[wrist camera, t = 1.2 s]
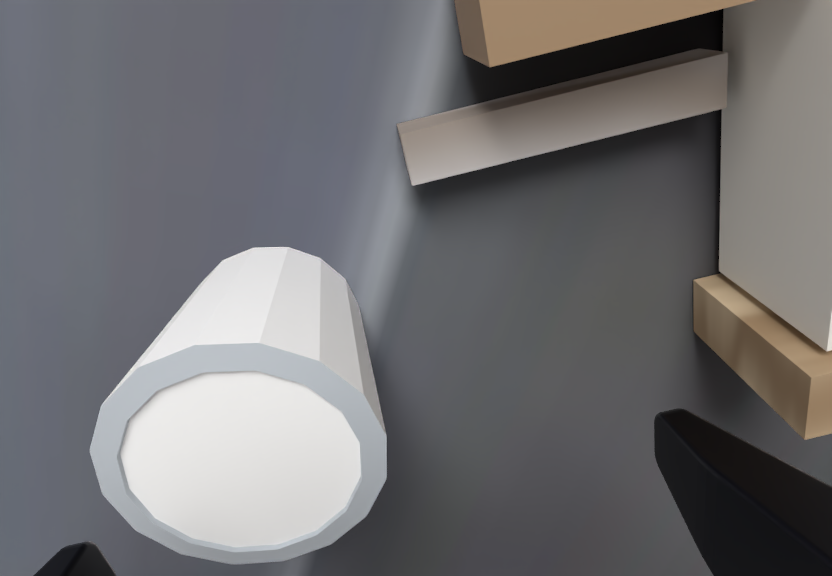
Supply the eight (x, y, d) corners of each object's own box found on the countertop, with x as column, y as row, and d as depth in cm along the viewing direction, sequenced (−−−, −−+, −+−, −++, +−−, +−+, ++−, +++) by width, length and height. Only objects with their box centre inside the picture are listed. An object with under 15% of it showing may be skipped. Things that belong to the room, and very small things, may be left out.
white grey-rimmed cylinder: (360, 412, 22) (362, 577, 16) (169, 391, 21) (90, 559, 15) (396, 246, 19) (416, 366, 13) (177, 210, 18) (83, 323, 12)
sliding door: (760, 260, 20) (881, 338, 16) (509, 322, 20) (555, 417, 16) (802, -504, 12) (1080, -815, 8) (384, -394, 12) (402, -632, 8)
